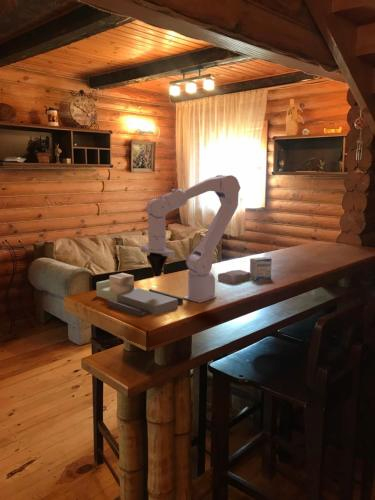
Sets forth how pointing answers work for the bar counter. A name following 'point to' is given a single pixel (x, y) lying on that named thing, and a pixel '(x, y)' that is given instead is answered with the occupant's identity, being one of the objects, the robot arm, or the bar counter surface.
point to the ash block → (121, 282)
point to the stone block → (234, 276)
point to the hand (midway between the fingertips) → (157, 275)
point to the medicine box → (260, 268)
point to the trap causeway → (138, 300)
